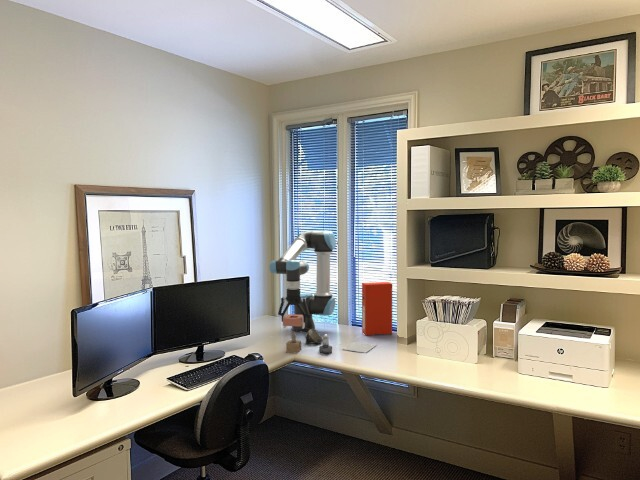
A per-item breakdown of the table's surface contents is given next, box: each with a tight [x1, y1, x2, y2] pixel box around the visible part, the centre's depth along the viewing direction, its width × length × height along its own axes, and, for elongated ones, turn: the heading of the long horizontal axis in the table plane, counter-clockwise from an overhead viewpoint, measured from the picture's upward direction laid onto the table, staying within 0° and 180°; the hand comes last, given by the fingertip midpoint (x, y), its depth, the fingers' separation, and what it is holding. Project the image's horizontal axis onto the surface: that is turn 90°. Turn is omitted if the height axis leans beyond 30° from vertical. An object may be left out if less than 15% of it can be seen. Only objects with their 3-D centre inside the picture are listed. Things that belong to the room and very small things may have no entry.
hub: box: [318, 333, 333, 355], centre depth 263 cm, size 7×7×10 cm
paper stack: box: [342, 341, 377, 354], centre depth 266 cm, size 23×25×1 cm
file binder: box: [361, 281, 393, 336], centre depth 301 cm, size 8×17×32 cm, turn 101°
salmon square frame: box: [282, 313, 303, 327], centre depth 265 cm, size 10×10×4 cm
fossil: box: [305, 328, 323, 345], centre depth 281 cm, size 11×9×10 cm
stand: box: [285, 332, 302, 354], centre depth 266 cm, size 7×7×10 cm
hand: (294, 327), depth 266 cm, fingers closed on salmon square frame, 10 cm apart
